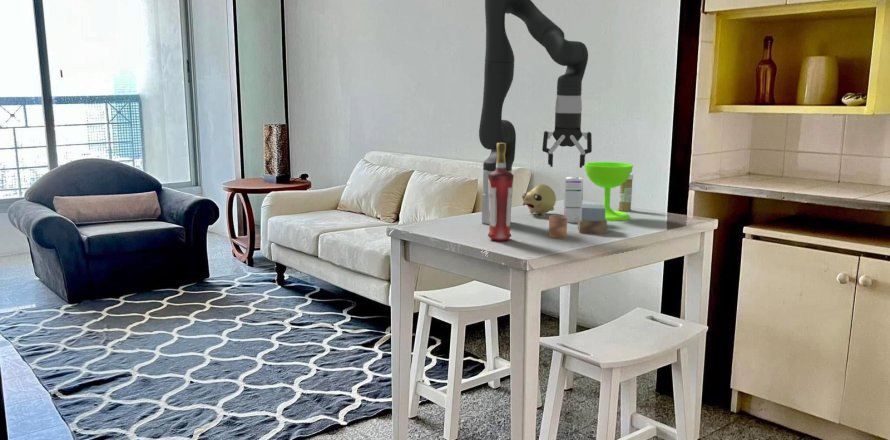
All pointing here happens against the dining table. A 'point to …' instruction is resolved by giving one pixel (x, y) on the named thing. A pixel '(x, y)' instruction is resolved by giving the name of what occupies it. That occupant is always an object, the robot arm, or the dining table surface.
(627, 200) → the sprinkles bottle
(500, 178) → the liquor
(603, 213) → the slate block
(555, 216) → the terracotta cube
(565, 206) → the syrup box
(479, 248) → the dining table surface
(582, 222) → the walnut slab
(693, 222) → the dining table surface
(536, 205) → the beige round toy
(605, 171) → the wineglass
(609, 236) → the dining table surface
